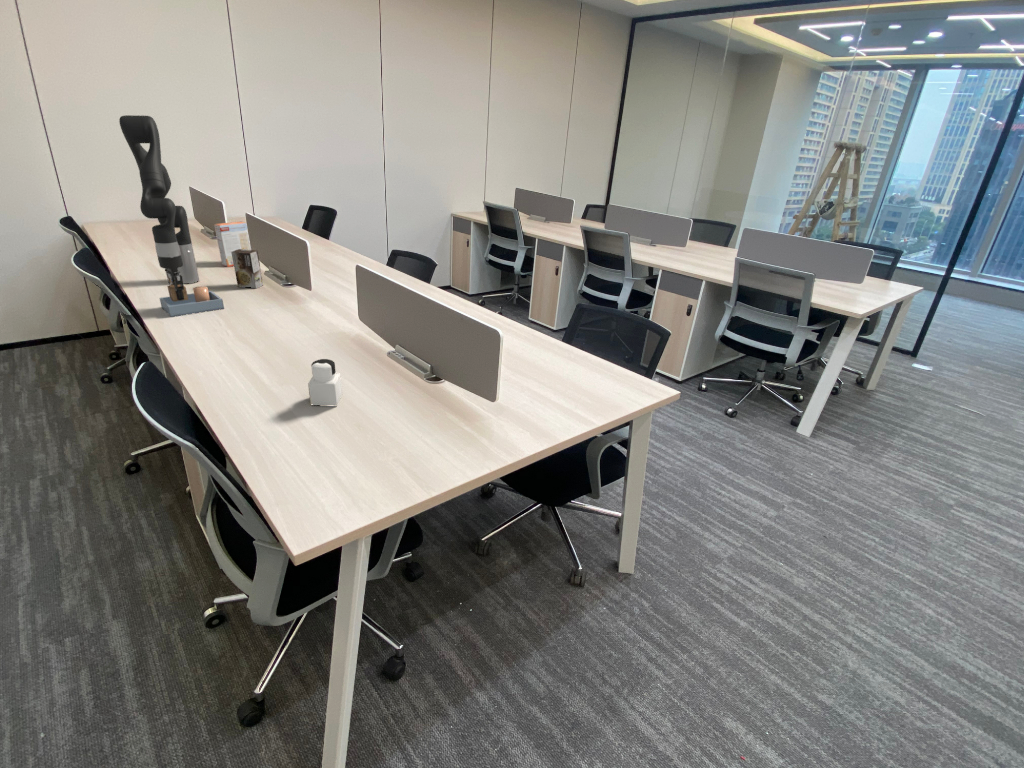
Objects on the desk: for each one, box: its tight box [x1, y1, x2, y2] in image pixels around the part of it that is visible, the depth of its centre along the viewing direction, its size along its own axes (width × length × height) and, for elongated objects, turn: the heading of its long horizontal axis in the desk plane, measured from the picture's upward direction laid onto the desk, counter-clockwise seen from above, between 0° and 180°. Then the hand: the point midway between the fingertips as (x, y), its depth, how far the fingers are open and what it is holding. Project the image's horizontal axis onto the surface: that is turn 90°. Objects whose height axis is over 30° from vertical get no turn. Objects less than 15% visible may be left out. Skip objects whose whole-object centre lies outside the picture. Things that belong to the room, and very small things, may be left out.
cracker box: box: [213, 221, 252, 268], centre depth 263 cm, size 14×6×21 cm, turn 144°
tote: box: [159, 290, 225, 318], centre depth 202 cm, size 14×19×4 cm
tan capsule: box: [192, 285, 210, 302], centre depth 204 cm, size 5×5×7 cm
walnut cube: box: [167, 284, 188, 302], centre depth 198 cm, size 5×5×5 cm
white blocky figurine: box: [307, 358, 343, 406], centre depth 141 cm, size 7×7×12 cm
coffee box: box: [231, 249, 264, 289], centre depth 231 cm, size 9×6×16 cm
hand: (178, 297), depth 199 cm, fingers closed on walnut cube, 5 cm apart
